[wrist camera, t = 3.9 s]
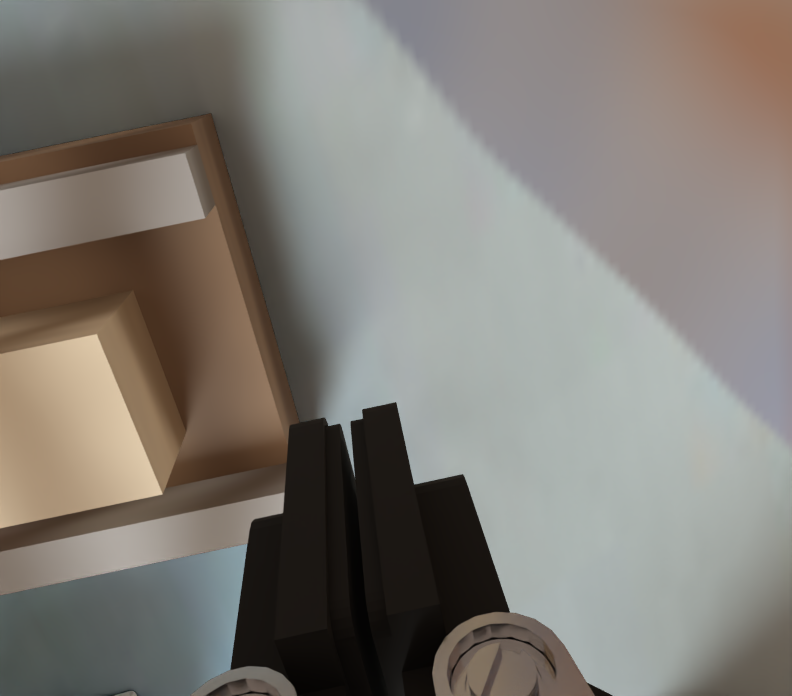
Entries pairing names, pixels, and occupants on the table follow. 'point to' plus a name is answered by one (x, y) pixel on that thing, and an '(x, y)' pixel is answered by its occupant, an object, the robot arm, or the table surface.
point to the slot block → (152, 336)
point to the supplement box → (127, 694)
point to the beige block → (82, 410)
